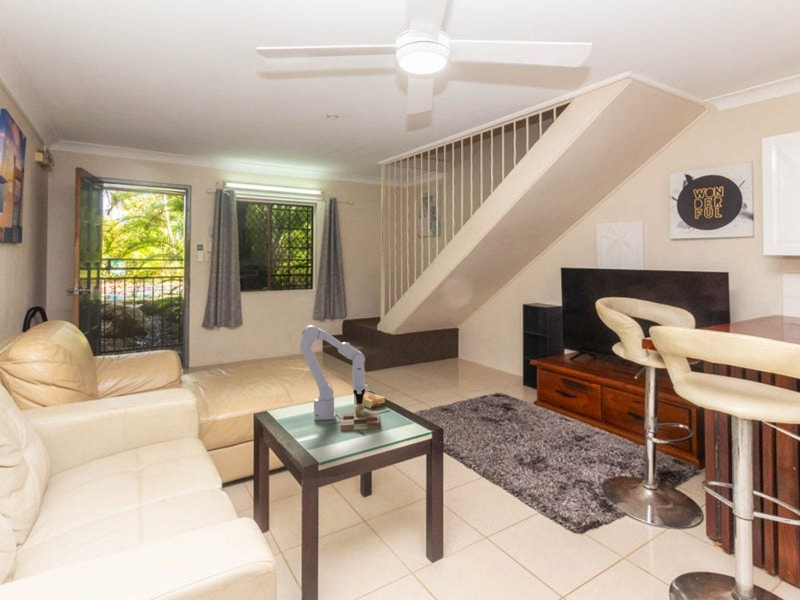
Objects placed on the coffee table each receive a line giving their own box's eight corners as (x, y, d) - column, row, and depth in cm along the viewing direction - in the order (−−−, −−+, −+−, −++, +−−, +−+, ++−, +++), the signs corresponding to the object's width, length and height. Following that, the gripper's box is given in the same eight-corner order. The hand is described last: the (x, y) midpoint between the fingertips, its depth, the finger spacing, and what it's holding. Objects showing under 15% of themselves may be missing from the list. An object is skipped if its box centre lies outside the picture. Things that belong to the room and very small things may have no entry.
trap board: (341, 417, 198) (341, 408, 198) (378, 415, 200) (377, 406, 200) (340, 430, 183) (340, 420, 182) (380, 428, 184) (379, 418, 184)
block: (355, 415, 194) (355, 406, 194) (355, 412, 198) (355, 404, 198) (364, 414, 195) (364, 406, 195) (364, 411, 199) (363, 403, 199)
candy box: (385, 405, 215) (367, 398, 227) (384, 397, 215) (367, 390, 227) (370, 409, 210) (353, 402, 222) (370, 400, 210) (353, 394, 222)
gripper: (367, 380, 196) (368, 408, 197) (366, 372, 210) (367, 399, 211) (352, 380, 195) (353, 409, 196) (352, 373, 209) (353, 400, 210)
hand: (359, 404), depth 204 cm, fingers closed
